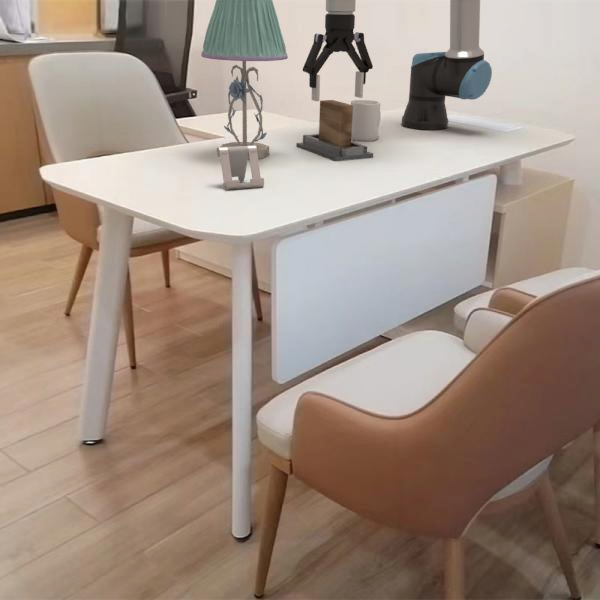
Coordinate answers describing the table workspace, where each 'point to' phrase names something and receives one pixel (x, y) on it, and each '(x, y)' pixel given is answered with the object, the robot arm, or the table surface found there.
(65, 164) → the table surface
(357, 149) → the base
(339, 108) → the brown wooden block
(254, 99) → the table lamp
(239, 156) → the portable electronic device stand
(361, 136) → the mug
